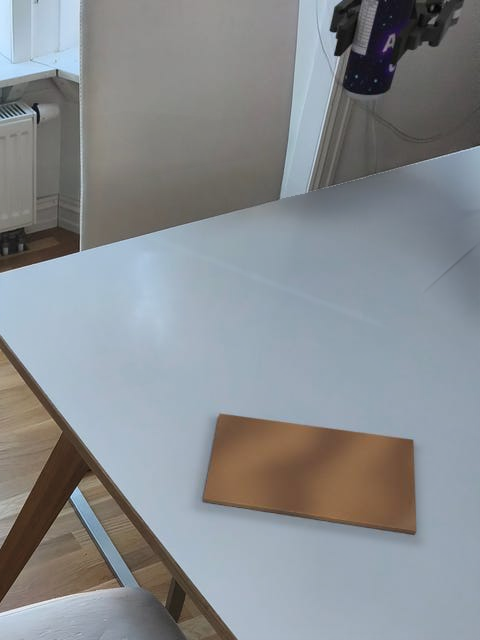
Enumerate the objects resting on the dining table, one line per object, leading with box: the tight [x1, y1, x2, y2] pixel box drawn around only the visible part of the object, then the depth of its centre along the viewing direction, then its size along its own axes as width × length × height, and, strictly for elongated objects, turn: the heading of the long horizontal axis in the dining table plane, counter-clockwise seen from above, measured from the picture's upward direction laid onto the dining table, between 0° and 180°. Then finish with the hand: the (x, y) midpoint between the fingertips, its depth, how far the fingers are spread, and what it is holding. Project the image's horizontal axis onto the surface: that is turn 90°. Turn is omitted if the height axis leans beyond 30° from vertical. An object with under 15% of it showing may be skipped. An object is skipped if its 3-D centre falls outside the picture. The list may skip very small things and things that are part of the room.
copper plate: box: [202, 413, 417, 535], centre depth 89 cm, size 20×14×1 cm
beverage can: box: [341, 0, 415, 101], centre depth 104 cm, size 6×6×12 cm
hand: (367, 46), depth 101 cm, fingers closed on beverage can, 6 cm apart
